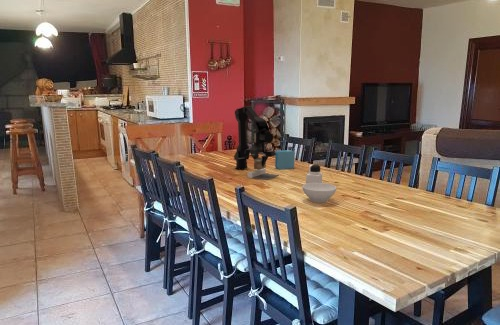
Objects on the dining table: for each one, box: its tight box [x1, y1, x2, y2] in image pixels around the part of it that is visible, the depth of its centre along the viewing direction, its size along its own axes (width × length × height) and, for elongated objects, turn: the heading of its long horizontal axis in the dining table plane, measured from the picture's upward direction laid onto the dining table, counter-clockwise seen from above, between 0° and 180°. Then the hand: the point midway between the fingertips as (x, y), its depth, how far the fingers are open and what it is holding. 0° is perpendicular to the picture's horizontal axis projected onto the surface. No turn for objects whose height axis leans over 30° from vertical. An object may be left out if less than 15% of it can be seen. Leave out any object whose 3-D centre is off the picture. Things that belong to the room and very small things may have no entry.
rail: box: [247, 168, 267, 179], centre depth 234 cm, size 3×16×3 cm, turn 147°
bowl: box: [301, 182, 337, 204], centre depth 181 cm, size 16×16×7 cm
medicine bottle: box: [305, 164, 323, 184], centre depth 207 cm, size 7×7×12 cm
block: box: [253, 157, 267, 170], centre depth 232 cm, size 4×7×6 cm, turn 147°
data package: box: [274, 149, 296, 170], centre depth 254 cm, size 12×4×12 cm, turn 107°
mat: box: [252, 172, 279, 181], centre depth 231 cm, size 10×14×1 cm
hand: (259, 166), depth 232 cm, fingers closed on block, 4 cm apart
